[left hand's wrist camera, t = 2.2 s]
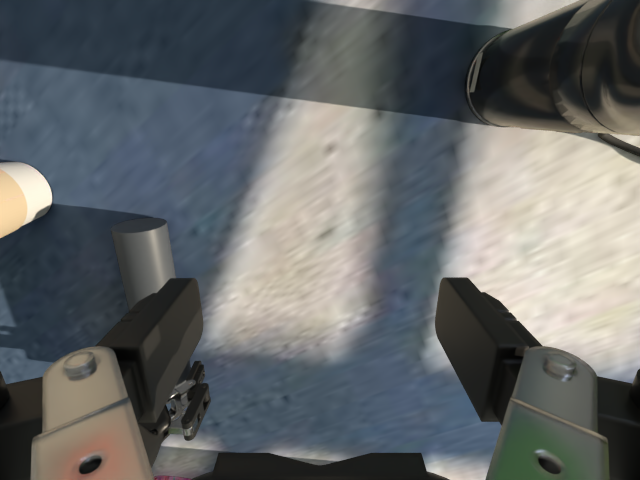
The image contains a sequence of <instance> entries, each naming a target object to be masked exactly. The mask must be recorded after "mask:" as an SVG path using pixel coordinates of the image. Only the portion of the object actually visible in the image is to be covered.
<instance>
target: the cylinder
mask: <svg viewBox="0 0 640 480" xmlns="http://www.w3.org/2000/svg"><path fill="white" fill-rule="evenodd" d="M111 233H112V237H113V242H114V246H115V251H116V255H117V260H118V264H119V268H120V273H121V277H122V282H123V286H124V291H125V295H126V299H127V304H128V308H129V311H130V310H131V309H132V308H133V307H134V306H135V304H136V303H137V302H138V301H140V300H142V299H144V298H145V297H147V296H149V295H150V294H152V293H157V292H158V291H159V290H160V289H161V288H162V287H163V286H164V284H165V283H166V282H167V281H168V280H169V279H170V278H176V276H175V270H174V263H173V257H172V251H171V245H170V239H169V233H168V227H167V222H166V220H164V219H160V218H139V219H133V220H128V221H124V222H121V223H118V224H116V225H114V226H112V227H111ZM190 370H191V367H190V361H188V363H187V365H186V367H185V369H184V371H183V372H182V374H181V376H180V378H179V380H178V382H177V384H176V386H175V388H174V389H176V388H178V387H179V386H181V385H182V384H184V383H185V382H186V378H187V376H188V374H189V372H190ZM185 395H187V393H186V394H185ZM185 395H183V396H182V397H181V398H183V397H184V396H185ZM169 403H171V402H168V403H167V404H169Z"/></svg>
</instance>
